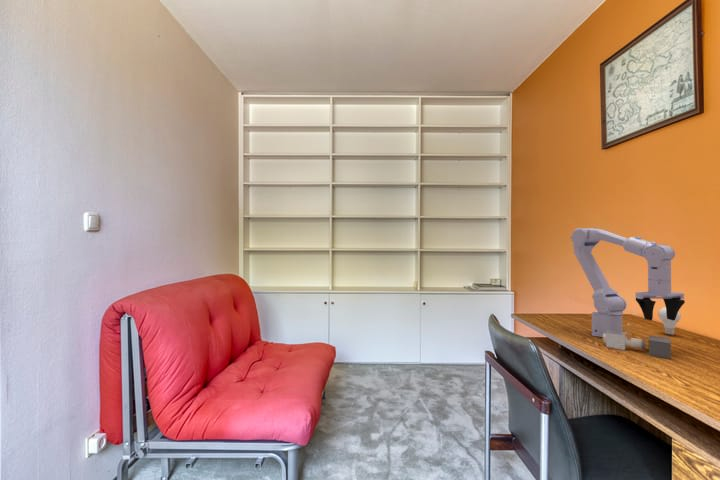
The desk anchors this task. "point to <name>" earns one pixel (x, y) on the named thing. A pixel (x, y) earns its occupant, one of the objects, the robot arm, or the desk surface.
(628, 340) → the slip tube
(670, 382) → the desk surface
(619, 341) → the light grey cube
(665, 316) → the lightbulb
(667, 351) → the socket
